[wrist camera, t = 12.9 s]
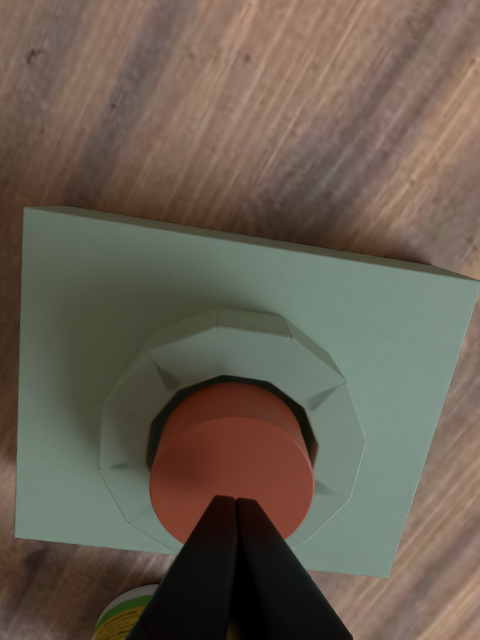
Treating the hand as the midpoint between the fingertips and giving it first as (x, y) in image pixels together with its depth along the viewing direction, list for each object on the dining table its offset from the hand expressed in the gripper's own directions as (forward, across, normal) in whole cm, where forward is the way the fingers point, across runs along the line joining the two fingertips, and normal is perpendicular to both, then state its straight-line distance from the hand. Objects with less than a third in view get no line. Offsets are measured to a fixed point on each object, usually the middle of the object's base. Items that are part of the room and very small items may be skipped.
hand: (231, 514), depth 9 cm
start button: (+2, 0, 0) cm, 2 cm away
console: (+6, 0, 0) cm, 6 cm away
